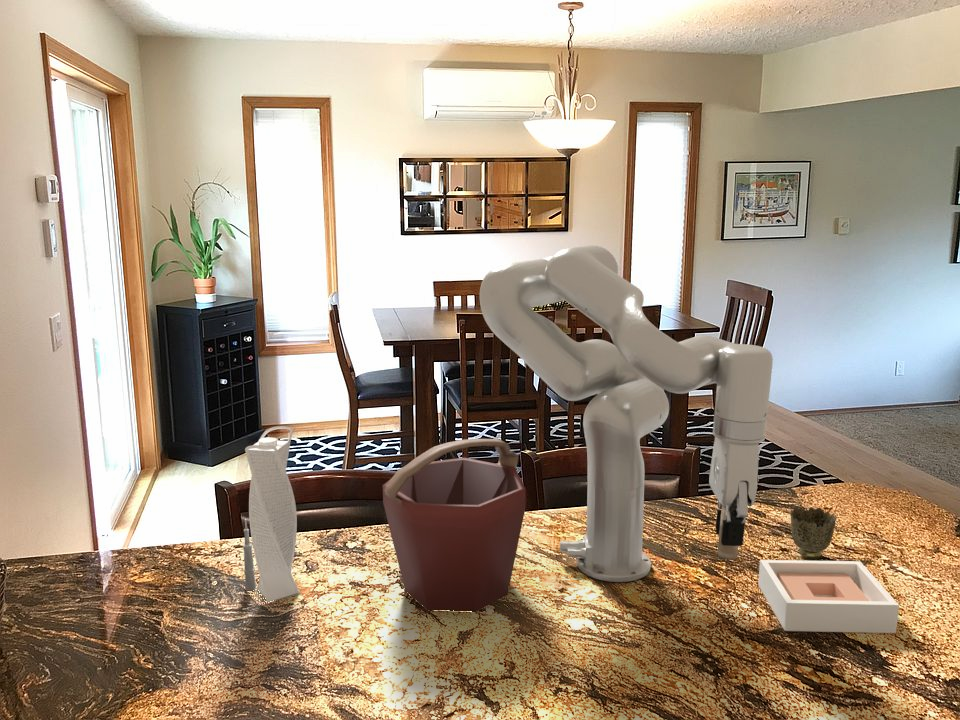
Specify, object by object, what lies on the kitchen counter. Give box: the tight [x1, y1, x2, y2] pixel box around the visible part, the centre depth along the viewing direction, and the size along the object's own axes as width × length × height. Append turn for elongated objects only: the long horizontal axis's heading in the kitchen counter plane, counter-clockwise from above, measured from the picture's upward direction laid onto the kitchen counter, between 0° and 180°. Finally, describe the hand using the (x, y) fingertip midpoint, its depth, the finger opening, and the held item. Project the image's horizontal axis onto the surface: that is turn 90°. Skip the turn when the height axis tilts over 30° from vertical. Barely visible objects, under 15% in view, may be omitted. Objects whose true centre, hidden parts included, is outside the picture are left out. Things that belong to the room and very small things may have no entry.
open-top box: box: [757, 559, 900, 634], centre depth 125 cm, size 16×14×4 cm
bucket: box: [382, 438, 527, 613], centre depth 130 cm, size 24×22×25 cm
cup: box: [790, 506, 837, 561], centre depth 142 cm, size 8×7×8 cm
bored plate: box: [777, 573, 869, 601], centre depth 125 cm, size 11×11×2 cm
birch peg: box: [717, 499, 739, 560], centre depth 125 cm, size 3×3×10 cm
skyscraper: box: [242, 425, 301, 606], centre depth 130 cm, size 8×8×28 cm
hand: (728, 538), depth 126 cm, fingers closed on birch peg, 3 cm apart
